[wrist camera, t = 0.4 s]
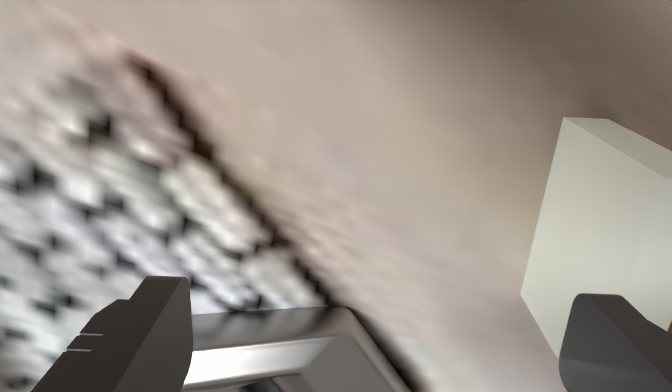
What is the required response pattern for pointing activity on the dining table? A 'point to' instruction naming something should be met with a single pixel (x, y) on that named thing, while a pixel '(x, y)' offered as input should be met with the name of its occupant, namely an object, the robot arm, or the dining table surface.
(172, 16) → the dining table surface
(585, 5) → the dining table surface
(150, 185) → the dining table surface
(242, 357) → the emblem
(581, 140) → the door panel
